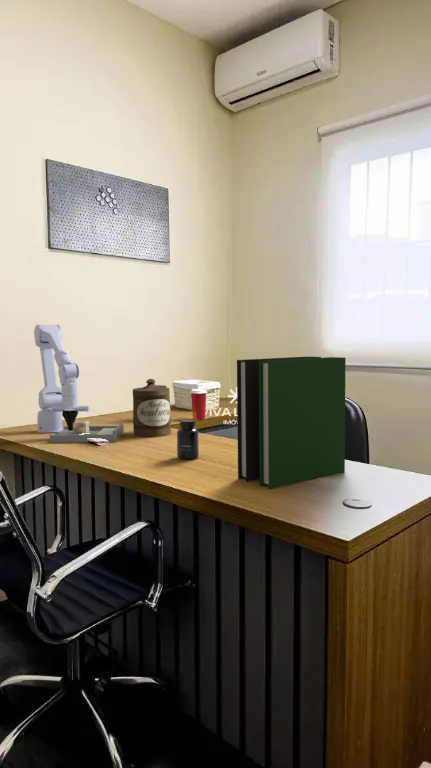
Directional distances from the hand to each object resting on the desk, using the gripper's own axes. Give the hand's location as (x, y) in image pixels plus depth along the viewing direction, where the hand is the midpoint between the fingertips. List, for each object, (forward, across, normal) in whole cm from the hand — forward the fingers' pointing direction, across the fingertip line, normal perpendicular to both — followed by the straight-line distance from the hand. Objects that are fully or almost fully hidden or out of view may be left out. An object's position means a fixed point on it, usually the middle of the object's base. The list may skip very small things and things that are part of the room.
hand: (70, 430), depth 206 cm
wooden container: (+3, +31, +6) cm, 31 cm away
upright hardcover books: (+3, +76, -61) cm, 97 cm away
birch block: (+1, +4, 0) cm, 4 cm away
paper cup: (+3, +49, +40) cm, 63 cm away
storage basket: (+3, +46, +80) cm, 92 cm away
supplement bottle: (+3, +47, -38) cm, 60 cm away
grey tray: (+3, +7, 0) cm, 7 cm away
